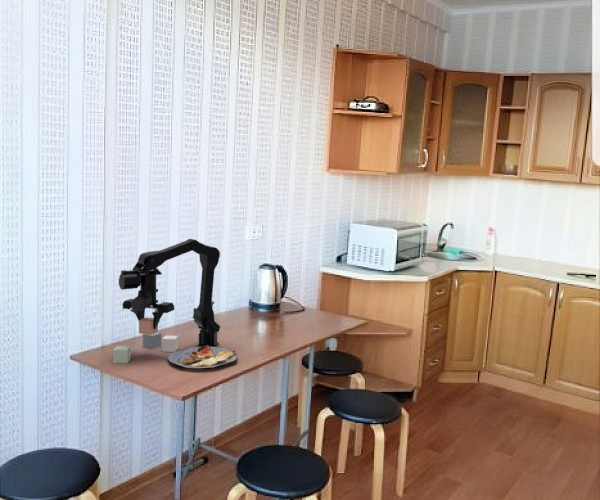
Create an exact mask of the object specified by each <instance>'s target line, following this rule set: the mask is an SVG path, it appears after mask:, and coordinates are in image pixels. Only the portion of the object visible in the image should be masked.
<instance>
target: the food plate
mask: <svg viewBox="0 0 600 500" xmlns="http://www.w3.org/2000/svg"><path fill="white" fill-rule="evenodd" d="M167 359H168V361H169V362H171V363H172V364H175V365H176V366H178V367H179V366H180V367H183V368H190V369H194V370H202V369H205V368H206V369H207V368H208V369H209V368H215V367H220V366H224V365H227V364H229V363H231V362H235V361H236V360H238V354H237V351H236V350H231V349H228V348H226V347H220V346H215V347H211V346H209V345H207V346H205V345H203V346H195V347H189V348H184V349H181V350H176V351H175V352H171V353H170V354H169V355H168V356H167Z"/></svg>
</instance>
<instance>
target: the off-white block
mask: <svg viewBox="0 0 600 500" xmlns="http://www.w3.org/2000/svg"><path fill="white" fill-rule="evenodd" d="M178 349H179V335H168V334H166V335H164V336H163V337H161V352H166V353H167V352H171V353H174V352H177V351H178Z"/></svg>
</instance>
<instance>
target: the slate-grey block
mask: <svg viewBox="0 0 600 500" xmlns="http://www.w3.org/2000/svg"><path fill="white" fill-rule="evenodd" d="M142 347H144V348H149V349H155V348H158V347H162V333H161V332H156V333H154V334H152V335H148V334H142Z"/></svg>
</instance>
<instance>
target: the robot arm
mask: <svg viewBox="0 0 600 500" xmlns="http://www.w3.org/2000/svg"><path fill="white" fill-rule="evenodd" d="M191 251H192V252H194V253H195V254H197V255H199V262H200V266H201V282H200V293H199V305H197V307H196V308H195V307H194V308H193V316H192V319H193V321H194V324H196V325H197V328H198V330H199V333H198V344H197V347H201V346H203V345H205V346H207V345H209V346H211V347H217V346H218V345H219V344H220V343H219V341H218V332H220V329H221V325H219V324H218V323H217V322H216V321H215V312H214V309H213V307H212V300H213V290H214V281H215V280H214V279H215V270H216V269H217V266H218V264H219V261H220V257H221V252H220V250H219V249H218V248H217V247H215V246H210V245H207V244H204V243H203V242H201V241H198V240H197V239H193V238H188V239H187V240H185V241H182V242H179V243H177V244H173V245H171V246H168V247H166V248H163V249H161V250H153V251H146V252H142V253H141V254H139V256H138V260H137V262H136V263H135V265H134V266H133V268H132V270H130V269H129V270H124V269H123V270H120V275H119V277H118V286H119V288H120V289H121V290H122V291H123V290H131V289H132V290H133V289H138V288H139V290H138V292H137V296H135V297H134V298H129V299H126V300H124V301H123V302H122V309H124V310H130V312H132V313H133V314H135V316H136V318H137V321H138V322H139V320H141V319H143V318H145V316H146V315H145V314H146V312H145V311H146V309H152V310H154V311H153V312H151V313H152V315H153V318H154V319H153V327H154V329H156V328H157V325H158V326H159V323H160V320H161V318H162V317H163V315H164V314H168V313H170V312H173V311H175V304H174V303H173V302H168V301H164V302H161V303H159V299H157V293H158V292H159V289H158V288H157V276H160V275H162V274H163V273H162V272H161V271H160V270H159V267H161V266H162V265H163V264H164V263H165V262H166V261H169V260H172V259H174V258H176V257H179V256H181V255H184V254H187V253H189V252H191Z"/></svg>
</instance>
